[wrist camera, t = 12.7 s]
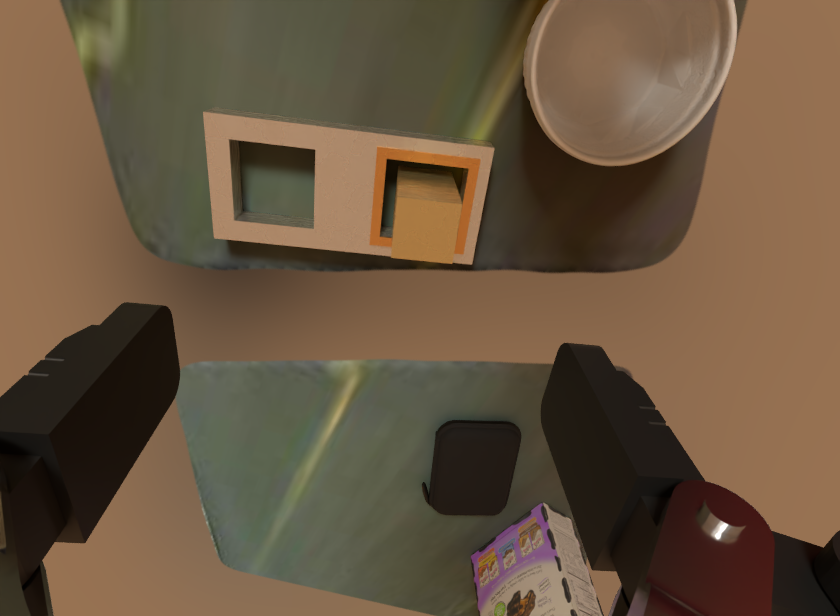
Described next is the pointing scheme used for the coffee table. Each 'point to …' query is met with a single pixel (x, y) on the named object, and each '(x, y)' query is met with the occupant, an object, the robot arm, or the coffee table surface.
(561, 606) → the candy box
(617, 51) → the ramekin
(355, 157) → the plate with square holes
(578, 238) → the coffee table surface
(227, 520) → the coffee table surface
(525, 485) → the coffee table surface
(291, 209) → the coffee table surface
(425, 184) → the tan wooden block
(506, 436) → the carrying case or bag
